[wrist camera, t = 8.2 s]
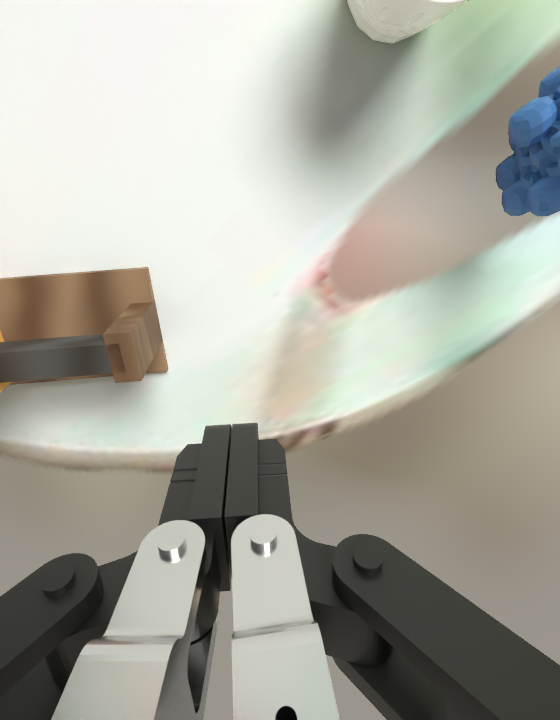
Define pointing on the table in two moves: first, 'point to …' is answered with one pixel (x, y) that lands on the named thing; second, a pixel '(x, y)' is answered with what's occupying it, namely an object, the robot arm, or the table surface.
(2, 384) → the yellow slider block
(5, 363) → the wooden slider rail stand
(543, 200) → the grapes
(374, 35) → the white cup
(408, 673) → the robot arm
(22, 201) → the table surface
